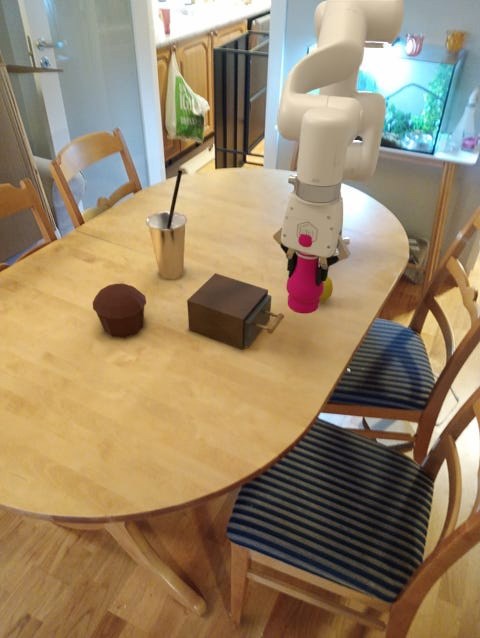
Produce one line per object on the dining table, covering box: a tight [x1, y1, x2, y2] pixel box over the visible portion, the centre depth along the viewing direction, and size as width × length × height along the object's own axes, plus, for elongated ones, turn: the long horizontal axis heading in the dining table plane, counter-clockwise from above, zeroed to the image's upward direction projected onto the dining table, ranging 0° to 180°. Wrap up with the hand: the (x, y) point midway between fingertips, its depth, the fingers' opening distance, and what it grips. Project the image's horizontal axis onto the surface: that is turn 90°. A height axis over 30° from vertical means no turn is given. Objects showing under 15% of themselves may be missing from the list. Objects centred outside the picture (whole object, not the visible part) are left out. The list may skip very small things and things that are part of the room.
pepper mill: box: [285, 234, 324, 315], centre depth 88 cm, size 7×7×20 cm
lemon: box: [319, 275, 334, 303], centre depth 114 cm, size 6×6×8 cm
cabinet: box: [186, 273, 269, 351], centre depth 106 cm, size 14×12×9 cm
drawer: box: [244, 294, 285, 348], centre depth 104 cm, size 17×11×7 cm, turn 62°
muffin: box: [92, 283, 147, 339], centre depth 105 cm, size 12×11×10 cm
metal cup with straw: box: [145, 170, 188, 280], centre depth 115 cm, size 11×11×30 cm
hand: (306, 277), depth 90 cm, fingers closed on pepper mill, 4 cm apart
